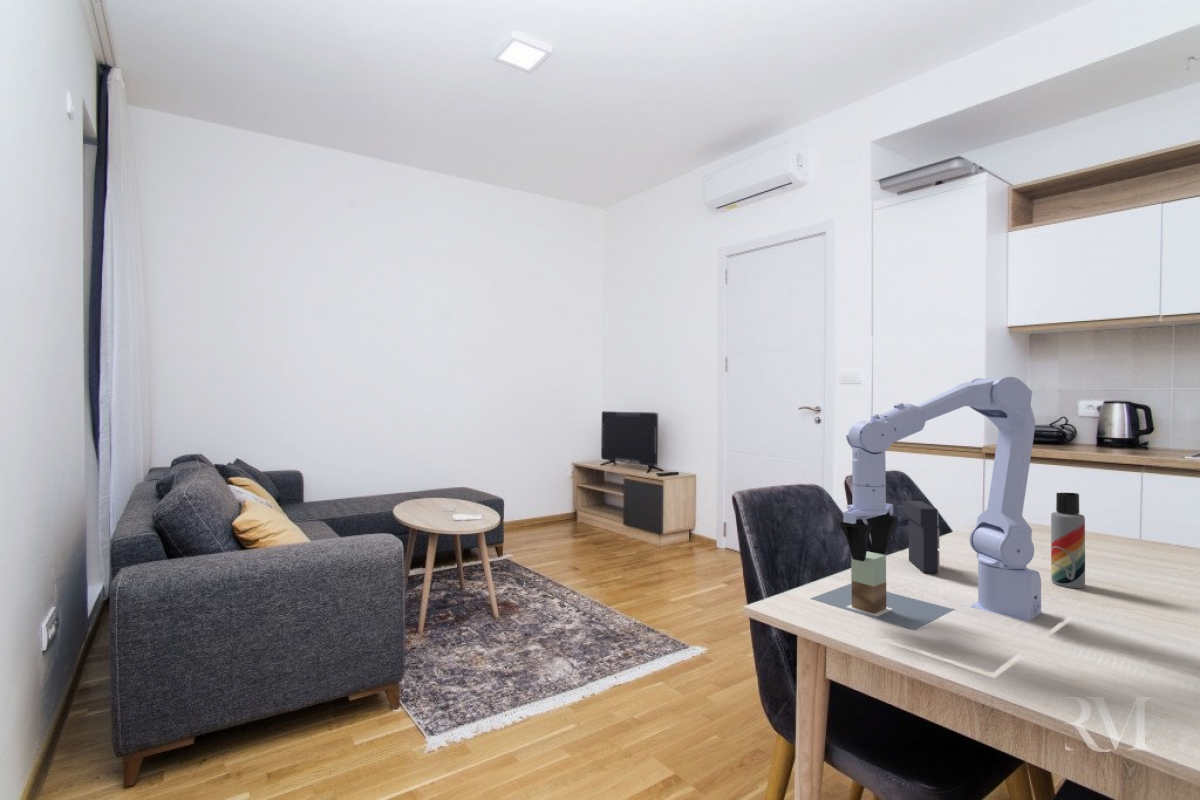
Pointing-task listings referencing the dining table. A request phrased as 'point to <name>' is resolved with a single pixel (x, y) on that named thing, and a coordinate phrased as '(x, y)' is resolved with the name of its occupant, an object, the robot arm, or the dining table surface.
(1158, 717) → the dining table surface
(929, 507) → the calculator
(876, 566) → the sage block
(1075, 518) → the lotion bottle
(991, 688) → the dining table surface
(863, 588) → the walnut block
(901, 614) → the grey mat
